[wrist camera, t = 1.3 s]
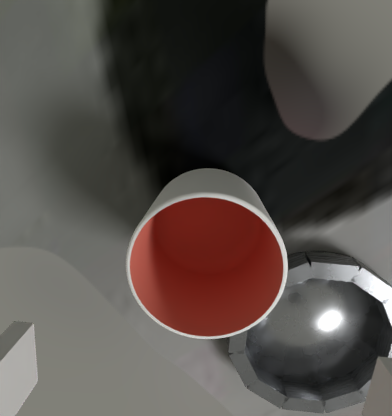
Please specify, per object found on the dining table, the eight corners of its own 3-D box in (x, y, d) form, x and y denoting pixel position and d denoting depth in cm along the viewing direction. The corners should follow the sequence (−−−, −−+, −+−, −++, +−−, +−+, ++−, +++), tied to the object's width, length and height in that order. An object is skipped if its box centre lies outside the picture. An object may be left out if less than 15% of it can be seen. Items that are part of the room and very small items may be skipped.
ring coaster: (238, 243, 29) (240, 255, 27) (412, 259, 29) (431, 273, 27) (221, 381, 34) (221, 402, 32) (372, 397, 34) (385, 419, 31)
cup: (158, 270, 31) (133, 340, 21) (149, 167, 28) (116, 195, 18) (262, 268, 30) (286, 339, 21) (263, 163, 27) (291, 189, 18)
